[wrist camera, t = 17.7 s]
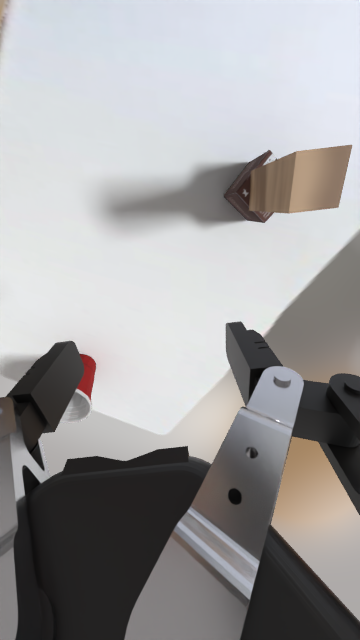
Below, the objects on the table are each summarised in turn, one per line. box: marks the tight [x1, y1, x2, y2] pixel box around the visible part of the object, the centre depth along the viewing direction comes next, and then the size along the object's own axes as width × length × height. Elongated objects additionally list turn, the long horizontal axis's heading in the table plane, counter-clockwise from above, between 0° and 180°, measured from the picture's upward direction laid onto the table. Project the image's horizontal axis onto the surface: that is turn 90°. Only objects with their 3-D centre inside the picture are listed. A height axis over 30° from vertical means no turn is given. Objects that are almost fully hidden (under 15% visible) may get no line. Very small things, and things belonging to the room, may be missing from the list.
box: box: [224, 150, 277, 223], centre depth 31 cm, size 6×6×7 cm
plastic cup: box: [59, 354, 96, 423], centre depth 44 cm, size 11×11×12 cm
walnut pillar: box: [249, 145, 352, 213], centre depth 23 cm, size 4×4×11 cm
